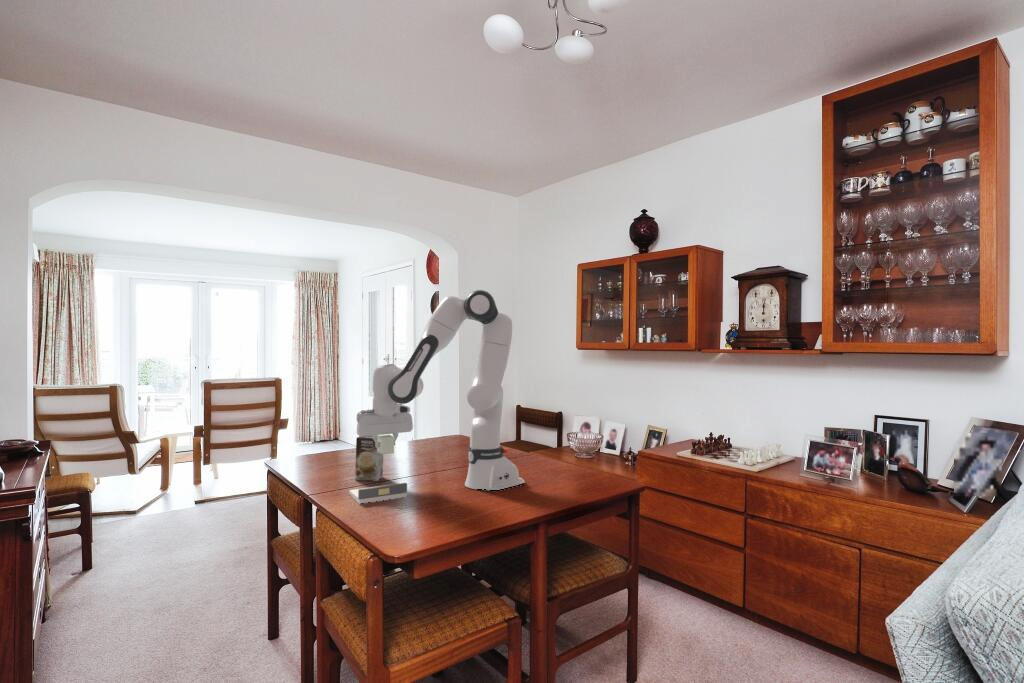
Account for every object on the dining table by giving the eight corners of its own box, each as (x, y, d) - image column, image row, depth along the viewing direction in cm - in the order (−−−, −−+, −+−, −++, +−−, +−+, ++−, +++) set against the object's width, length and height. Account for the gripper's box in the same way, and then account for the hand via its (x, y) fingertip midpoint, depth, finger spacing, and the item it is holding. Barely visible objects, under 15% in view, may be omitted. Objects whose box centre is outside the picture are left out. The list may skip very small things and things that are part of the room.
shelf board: (394, 488, 181) (394, 475, 181) (407, 497, 171) (407, 483, 171) (349, 494, 173) (349, 481, 173) (359, 504, 162) (359, 490, 162)
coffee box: (354, 480, 191) (355, 437, 191) (360, 476, 197) (361, 434, 197) (377, 481, 190) (378, 438, 190) (383, 477, 196) (384, 435, 196)
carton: (387, 449, 190) (387, 433, 190) (393, 453, 184) (393, 436, 184) (376, 451, 188) (376, 435, 188) (382, 454, 182) (382, 437, 182)
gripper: (359, 411, 178) (359, 451, 178) (414, 407, 189) (414, 444, 189) (354, 409, 183) (354, 448, 183) (408, 405, 194) (408, 442, 194)
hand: (385, 446), depth 186 cm, fingers closed on carton, 4 cm apart
